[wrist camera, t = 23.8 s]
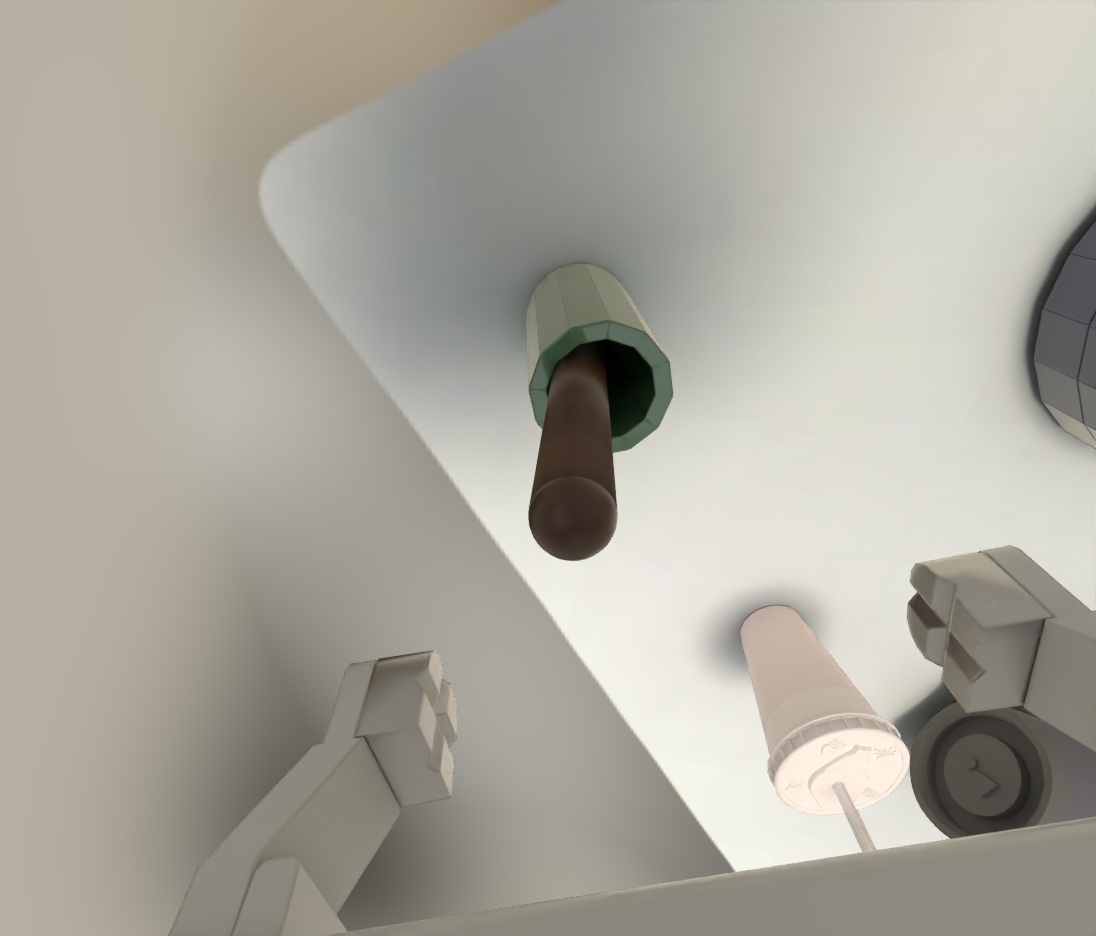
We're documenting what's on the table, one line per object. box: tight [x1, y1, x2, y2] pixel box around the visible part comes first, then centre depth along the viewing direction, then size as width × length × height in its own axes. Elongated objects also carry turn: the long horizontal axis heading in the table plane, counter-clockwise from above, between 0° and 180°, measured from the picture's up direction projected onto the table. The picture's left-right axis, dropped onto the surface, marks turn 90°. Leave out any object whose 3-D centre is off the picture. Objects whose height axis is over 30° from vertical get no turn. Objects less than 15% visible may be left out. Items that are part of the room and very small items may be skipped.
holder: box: [526, 263, 673, 453], centre depth 25 cm, size 5×5×9 cm
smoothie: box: [740, 605, 910, 853], centre depth 32 cm, size 6×6×14 cm
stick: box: [529, 340, 617, 561], centre depth 20 cm, size 2×2×18 cm
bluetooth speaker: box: [910, 702, 1096, 839], centre depth 40 cm, size 23×9×10 cm, turn 59°
